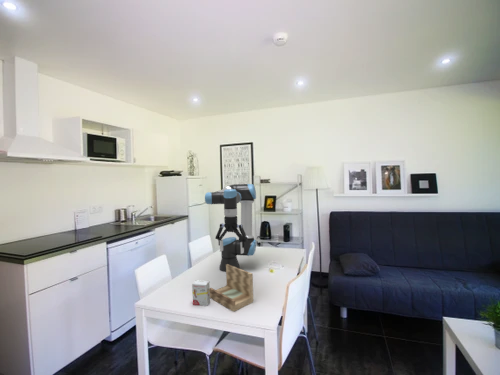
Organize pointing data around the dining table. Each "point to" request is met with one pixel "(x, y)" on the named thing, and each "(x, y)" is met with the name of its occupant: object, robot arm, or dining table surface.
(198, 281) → the ink box
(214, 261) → the dining table surface
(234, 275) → the wooden holder
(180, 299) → the dining table surface
